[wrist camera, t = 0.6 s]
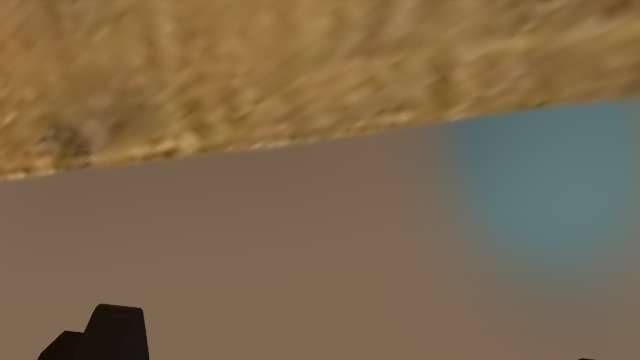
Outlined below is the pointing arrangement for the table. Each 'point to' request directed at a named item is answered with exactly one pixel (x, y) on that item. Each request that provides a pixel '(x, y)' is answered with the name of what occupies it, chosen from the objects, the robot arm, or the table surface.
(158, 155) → the table surface
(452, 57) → the table surface
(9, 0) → the table surface
